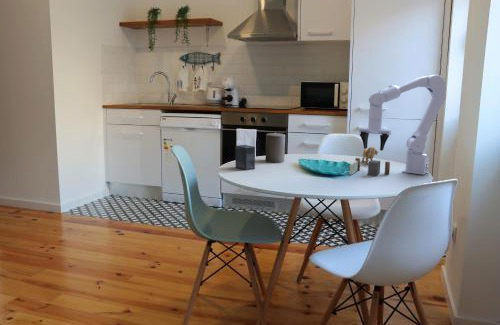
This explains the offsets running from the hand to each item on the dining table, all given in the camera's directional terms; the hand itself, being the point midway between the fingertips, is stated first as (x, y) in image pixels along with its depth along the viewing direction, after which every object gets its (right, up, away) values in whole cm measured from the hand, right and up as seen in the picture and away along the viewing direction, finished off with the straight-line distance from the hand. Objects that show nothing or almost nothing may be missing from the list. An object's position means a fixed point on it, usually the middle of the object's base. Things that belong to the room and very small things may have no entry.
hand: (373, 149), depth 214 cm
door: (-10, -10, -3) cm, 15 cm away
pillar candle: (-43, -6, +23) cm, 50 cm away
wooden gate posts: (-1, -10, -1) cm, 10 cm away
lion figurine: (+3, -6, +21) cm, 22 cm away
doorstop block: (-1, -11, -6) cm, 13 cm away
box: (-58, -9, +5) cm, 59 cm away
